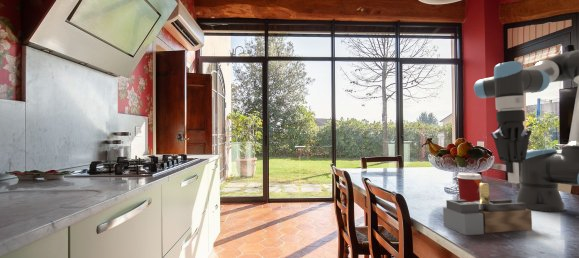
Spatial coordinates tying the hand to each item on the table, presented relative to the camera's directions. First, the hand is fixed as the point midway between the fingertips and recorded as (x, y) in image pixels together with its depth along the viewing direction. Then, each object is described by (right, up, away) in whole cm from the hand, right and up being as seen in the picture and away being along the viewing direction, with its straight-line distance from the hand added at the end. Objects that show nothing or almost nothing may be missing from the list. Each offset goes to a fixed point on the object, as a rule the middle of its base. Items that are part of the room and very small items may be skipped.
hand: (513, 182), depth 97 cm
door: (-6, -14, -1) cm, 15 cm away
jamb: (-18, -14, -3) cm, 23 cm away
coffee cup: (-5, -15, +15) cm, 22 cm away
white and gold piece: (-14, -8, -2) cm, 16 cm away
